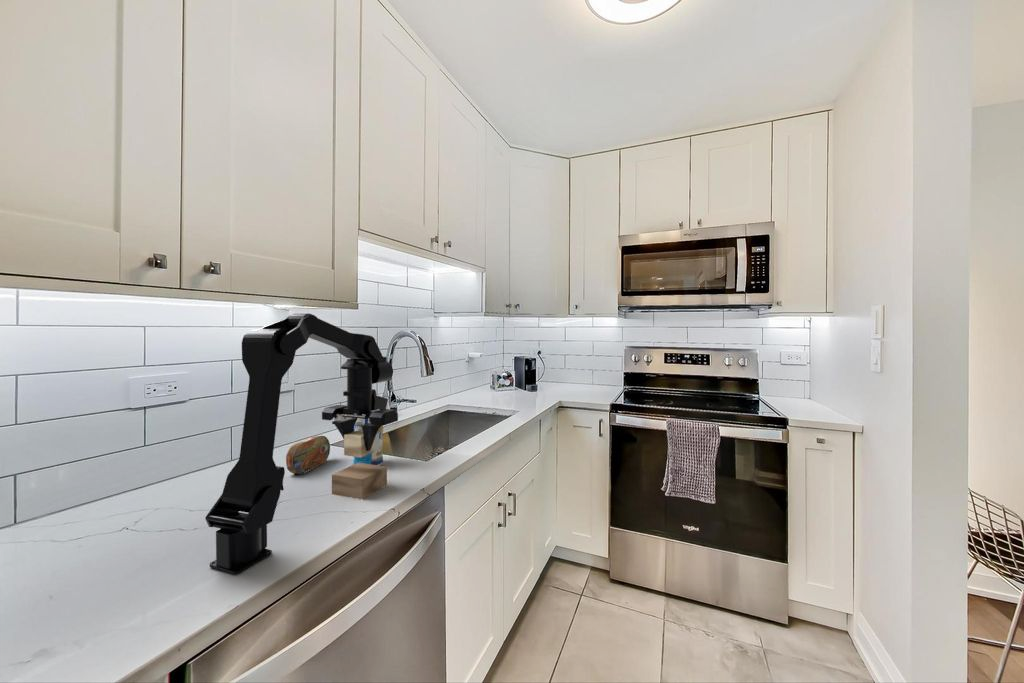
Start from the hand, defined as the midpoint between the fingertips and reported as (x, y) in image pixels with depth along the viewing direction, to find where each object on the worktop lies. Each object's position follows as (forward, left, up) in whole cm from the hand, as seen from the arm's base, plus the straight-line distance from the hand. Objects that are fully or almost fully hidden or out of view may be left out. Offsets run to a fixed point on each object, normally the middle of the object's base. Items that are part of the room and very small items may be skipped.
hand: (359, 449), depth 95 cm
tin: (+7, +24, -10) cm, 27 cm away
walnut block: (0, 0, -10) cm, 10 cm away
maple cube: (0, 0, -1) cm, 1 cm away
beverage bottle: (+15, +10, -10) cm, 21 cm away
